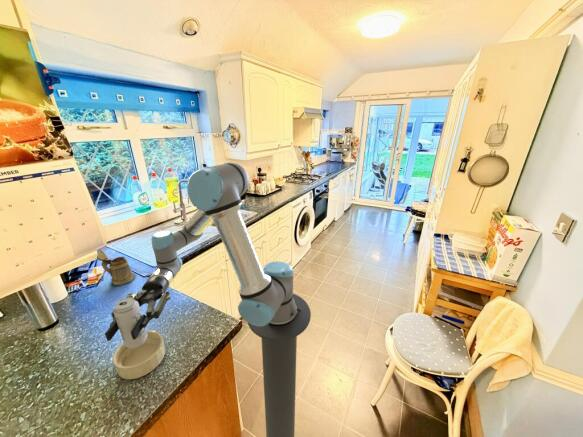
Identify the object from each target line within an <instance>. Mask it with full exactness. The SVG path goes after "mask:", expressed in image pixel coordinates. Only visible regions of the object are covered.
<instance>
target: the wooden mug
mask: <svg viewBox="0 0 583 437" xmlns="http://www.w3.org/2000/svg"><path fill="white" fill-rule="evenodd" d="M97 253H98V256H97V259H96V260H98V261H101V267H102V269H103V270H104V271H105V272H107V273H108V274H109V275H110V276H111V279H110V280H111V283H112V284H113V285H114V286H121V285H125V284H128V283H130V282H132V281H133V280H134V279H135V274H134V272H133V270H132V269H131V267H130V265H129V261H128V260H127V258H126V257H125V256H118V257H115V258H112V259H111V258H108V257H107V254H106V253H105V251H102V250H101V249H98V251H97ZM108 266H109V267H108Z"/></svg>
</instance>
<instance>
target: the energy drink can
mask: <svg viewBox="0 0 583 437" xmlns="http://www.w3.org/2000/svg"><path fill="white" fill-rule="evenodd" d="M113 311H114V316H115V318H116V321H117V324H118V327H119V330H118V331H119V333H120V336H121V339H122V343H123V342H124V345H125V347H127V348H130V349H134V348H137V347H139V346H141V345H142V344H143V343H144V342H145V341H146V339H147V332H146V331H147V328H146V327H145V328H143V329H142V330H141V332H140V333H139V335H138V336H137V338H136V339H133V338H132V335H131V331H132V329H133V328H134V326H135V325H136V324H137V322H138V321H139V319H140V318H141V316H142V315H143V314H142V310H141V307H139V303H138V302H137V301H135V299H134V298H131V297H129V298H126V297H124V298H122V299H120V300H119V301H117V302H116V303H115V304H114V308H113Z"/></svg>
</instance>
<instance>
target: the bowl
mask: <svg viewBox="0 0 583 437" xmlns="http://www.w3.org/2000/svg"><path fill="white" fill-rule="evenodd" d="M146 332H147V339H146V341H145V342H144V343H143V344H142V345H141V346H139V347H137V348H134V349H130V348H127V347H125V345H124V342H123V341H122V342H121V344H120V345H119V346H118V347H117V348H116V350H115V351H114V353H113V357H112V362H113V364H114V368H115V370H116V373H117V375H118V377H120V378H121V379H125V380H135V379H139V378H141V377H144V376H146V375H148V374H149V373H151V372H152V371H154V370H155V369H156V368H157V367H158V366H159V365H160V364H161V362H162V361H163V360H164V357H165V355H166V346H165V345H166V344H165V341H164V338H163V335H162V334H161V333H160V332H158V331H156V330H146Z"/></svg>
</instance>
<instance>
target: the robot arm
mask: <svg viewBox="0 0 583 437" xmlns="http://www.w3.org/2000/svg"><path fill="white" fill-rule="evenodd" d="M249 187H250V176H249V173H248V171H247V170H246V169H245V168H244V167H243V166H241V165H240V164H238V163H235V162H225V163H222V164H217V165H211V166H206V167H204V168H200V169H198V170H195V171H194V172H192V174H191V175H190V176H189V178H188V182H187V185H186V192H187V196H188V200H189V202H190V203H191V204H192V206H193V207H196V209H197V210H196V211H195V212H194V213H193V214H192V215H191V217H190V218H189V219H188V220H187V221H186V223H185V224H184V225H183V226H182V227H181V228H178V229H176V230H175V231H170V230H161V231H158V232H156V233H153V235H151V247H152V251H153V254H154V257H155V262H156V269H154V271H153V272H152V274H151V275H150V276H149V277H148V279H147V280H146V281H145V282H144V284H143V285H142V288H141V290H139V291H138V292H137V293H134V294H133V293H132V292H128V293H127V295H126V297H125V298H129V297H131V298H134V299H135V301H137V302H138V303H139V307H140V308H141V307H142V306H143V305H147V308H146V311H145V314H142V316H141V318H140V319H139V321H138V322H137V324H136V325H135V326H134V328H133V329H132V331H131V335H132V338H133V339H136V338H137V336H138V335H139V333H140V332H141V330H142V329H143V328H146V327H147V326H148V324H149V323H150V321H152V320H153V319H155V320H157V319H159V318H160V317H161V314H162V313H163V310H164V308H165V306H166V304H167V302H168V301H169V300H171V294H170V291H168V289H169V287H170V286H171V284H172V282H173V281H174V279H175V277H176V276H177V274H178V273H179V272H180V271H181V268H182V266H183V259H182V258H181V257H180V256H179V255H178V254H177V253H178V251H179V250H181V249H183V248H184V247H186V246H188V245H190V244H191V243H194V242H195V241H197V240H200V238H201V237H202V236H203V235H204V232H205V230H207V229H208V227H209V226H210V225H212V223H213V222H214V225H215V227H216V230H217V232H218V234H219V237H220V239H221V241H222V244H223V246H224V249H225V251H226V253H227V255H228V258H229V261H230V263H231V265H232V267H233V270H234V273H235V275H236V277H237V280H238V282H239V287H238V294H239V296H240V299H241V301H239V303H238V306H237V311H238V314H239V315H240V317H241V318H242V319H243V320H244V321H245V322H248V323H250V324H252V325H255V326H265V325H267V324H269V325H272V326H285V325H287V324H289V323H291V322H292V321H293V320H294V319H295V318H296V315H297V310H298V311H299V312H300V311H301V310H300V309H298V308H297V306H296V304H295V301H294V299H293V294H294V268H293V266H291V265H290V263H288V262H284V261H280V260H279V261H270V262H268V263H266V264H264V266H262V264H261V262H260V258H259V256H258V254H257V251H256V248H255V246H254V244H253V242H252V238H251V236H250V233H249V230H248V228H247V225H246V223H245V219H244V218H243V216H242V212H241V207H242V205H243V202H242V199H241V198H242V196H243V195H244V194H245V193H246V192H247V191H248V189H249ZM111 318H112V321H111V322H110V323H109V328H108V329H107V330H106V331H105V332H104V336H105V338H106V341H107V342H111V340H112V339H113V338H114V336H115V335H116V334H117V333H118V331H120V330H119V327H118V324H117V321H116V318H115V316H114V310H113V311H112V312H111ZM248 323H247V324H248Z"/></svg>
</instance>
